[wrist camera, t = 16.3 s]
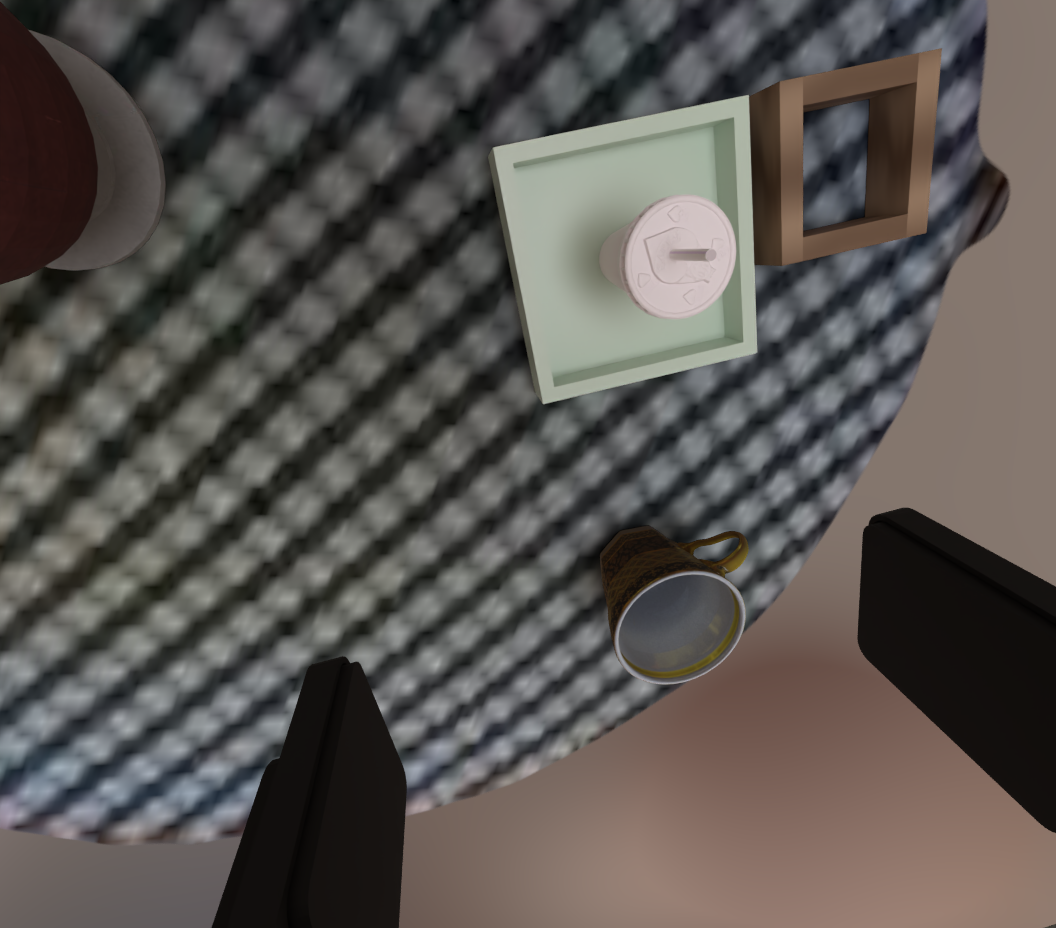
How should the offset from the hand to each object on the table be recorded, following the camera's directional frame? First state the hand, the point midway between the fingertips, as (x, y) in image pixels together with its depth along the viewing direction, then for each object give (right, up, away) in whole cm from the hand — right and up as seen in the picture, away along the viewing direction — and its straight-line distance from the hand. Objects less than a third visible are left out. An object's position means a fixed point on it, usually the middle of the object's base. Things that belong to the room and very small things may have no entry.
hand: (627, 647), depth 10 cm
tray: (+5, +18, +29) cm, 34 cm away
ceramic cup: (+9, -4, +38) cm, 39 cm away
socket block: (+19, +24, +29) cm, 42 cm away
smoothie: (+5, +18, +28) cm, 34 cm away
